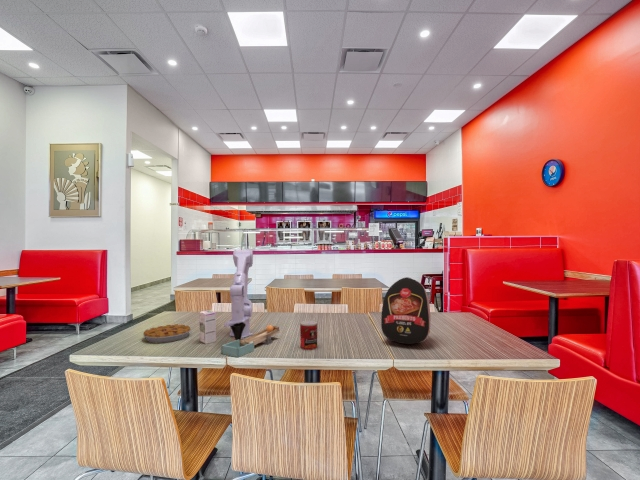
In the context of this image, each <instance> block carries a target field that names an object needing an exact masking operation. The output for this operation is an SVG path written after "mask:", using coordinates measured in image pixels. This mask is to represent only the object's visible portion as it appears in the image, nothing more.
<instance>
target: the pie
mask: <svg viewBox="0 0 640 480" xmlns="http://www.w3.org/2000/svg"><path fill="white" fill-rule="evenodd" d="M191 331H192V329H191V326H189V325H185V324H178V323H177V324H176V323H175V324H166V325H158V326H157V327H150V329H146V330H144V331H143V334H142V335H143V337H145V338H144V339H146V341H147V342H148V341H149V343H151V342H152V343H153V344H164V343H171V342H176V341H180V340H184V339H186V338H188V336H189V334H190V332H191Z"/></svg>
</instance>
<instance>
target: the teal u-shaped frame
mask: <svg viewBox="0 0 640 480" xmlns="http://www.w3.org/2000/svg"><path fill="white" fill-rule="evenodd" d="M240 344H241V343H240V340H235V341H232V340H231V341H230V342H227V343H225V344H222V345H221V347H220V348H221V349H220V350H221V351H220V354H221V355H226V356H229V357H230V356H231V357H234V358H239V357H242V356H245V355H247V354H249V353H252V352H254V351H255V345H254V342H252V343H250V344H245V345H243V346H241V345H240ZM244 354H245V355H244Z"/></svg>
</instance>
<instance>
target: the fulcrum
mask: <svg viewBox="0 0 640 480" xmlns="http://www.w3.org/2000/svg"><path fill="white" fill-rule="evenodd" d="M259 344H261V345H266V346H267V345H271V344H273V341H272V336H267V337H266V340H264V341H262V342H260V343H259Z"/></svg>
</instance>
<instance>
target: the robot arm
mask: <svg viewBox="0 0 640 480" xmlns="http://www.w3.org/2000/svg"><path fill="white" fill-rule="evenodd" d="M232 253H233V254H232V259H233V264H234V266H235V267H236V272H234V274H233V277H232V285H230V288H229V294H230V302H231V319H230V320H228V321H226V322H224V327H225V328H230V333H229V336H230V337H233V338H235V340H240V339H245V338H248V337H250V336H252V335H254V333H253V332H251V331H250V330H251V329H250V324H251V323H250V322H251V317H252V316H253V303H252V300H250V299H248V284H249V283H248V281H249V280H248V279H249V269H251V267H253V265H254V264H253V263H254V251H253V250H252V249H245V250H244V249H242V250H240V249H239V250H236V249H234V250H233V252H232Z"/></svg>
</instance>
